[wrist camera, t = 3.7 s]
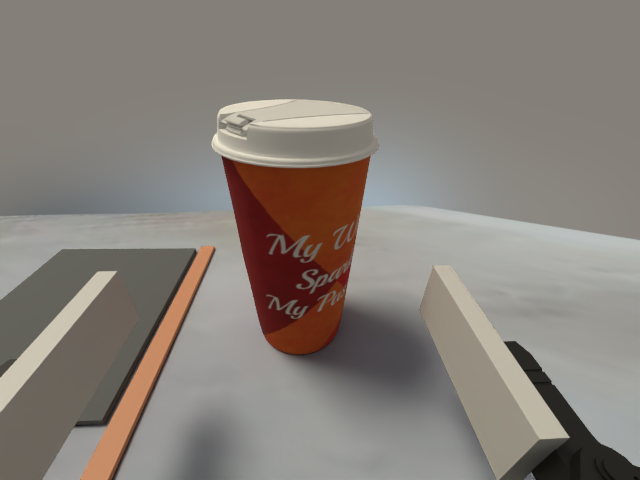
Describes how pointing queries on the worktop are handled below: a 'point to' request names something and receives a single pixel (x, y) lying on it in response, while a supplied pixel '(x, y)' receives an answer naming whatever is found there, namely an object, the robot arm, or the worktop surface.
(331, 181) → the paper cup
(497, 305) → the worktop surface
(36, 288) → the mat
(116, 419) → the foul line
